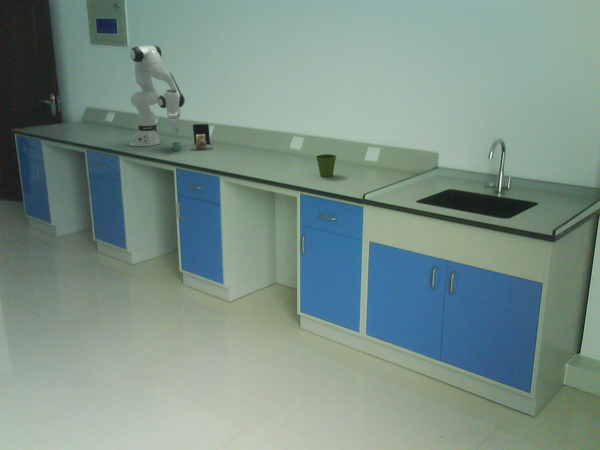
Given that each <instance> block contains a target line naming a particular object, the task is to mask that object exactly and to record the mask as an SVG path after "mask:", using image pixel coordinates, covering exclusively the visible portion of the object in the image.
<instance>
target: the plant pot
mask: <svg viewBox="0 0 600 450" xmlns="http://www.w3.org/2000/svg"><path fill="white" fill-rule="evenodd" d="M315 159H316V160H317V165H318V170H319V175H320V177H321V176H322V177H324V178H330V177H333V175H334V170H335V163H336V159H337V155H336V154H331V153H330V154H329V153H325V154H318V155H316V156H315Z"/></svg>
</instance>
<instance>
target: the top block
mask: <svg viewBox="0 0 600 450" xmlns="http://www.w3.org/2000/svg"><path fill="white" fill-rule="evenodd" d="M196 142H197V143H205V134H197V135H196Z"/></svg>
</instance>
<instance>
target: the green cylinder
mask: <svg viewBox="0 0 600 450" xmlns="http://www.w3.org/2000/svg"><path fill="white" fill-rule="evenodd" d="M181 143H182V142H181V141H174V142H173V141H172V152H180V151H182V146H181V145H182V144H181Z"/></svg>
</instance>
